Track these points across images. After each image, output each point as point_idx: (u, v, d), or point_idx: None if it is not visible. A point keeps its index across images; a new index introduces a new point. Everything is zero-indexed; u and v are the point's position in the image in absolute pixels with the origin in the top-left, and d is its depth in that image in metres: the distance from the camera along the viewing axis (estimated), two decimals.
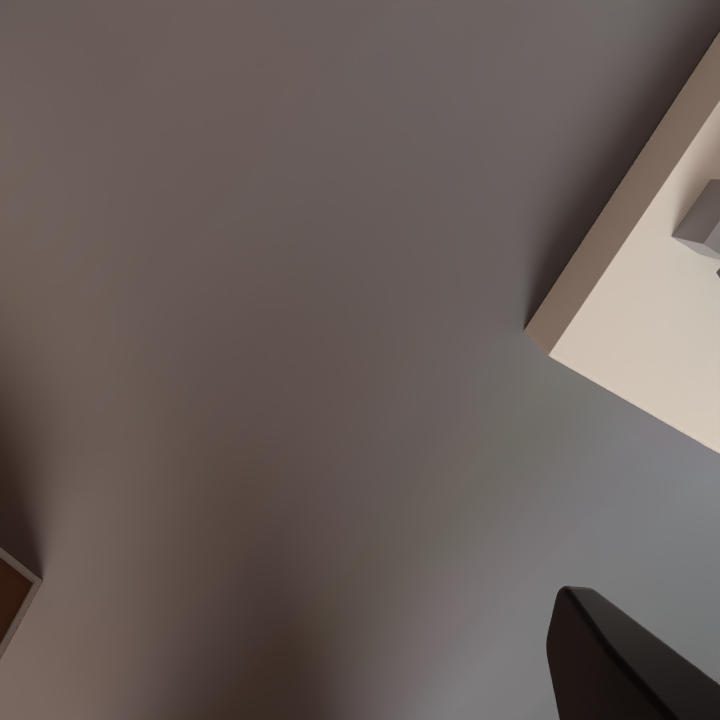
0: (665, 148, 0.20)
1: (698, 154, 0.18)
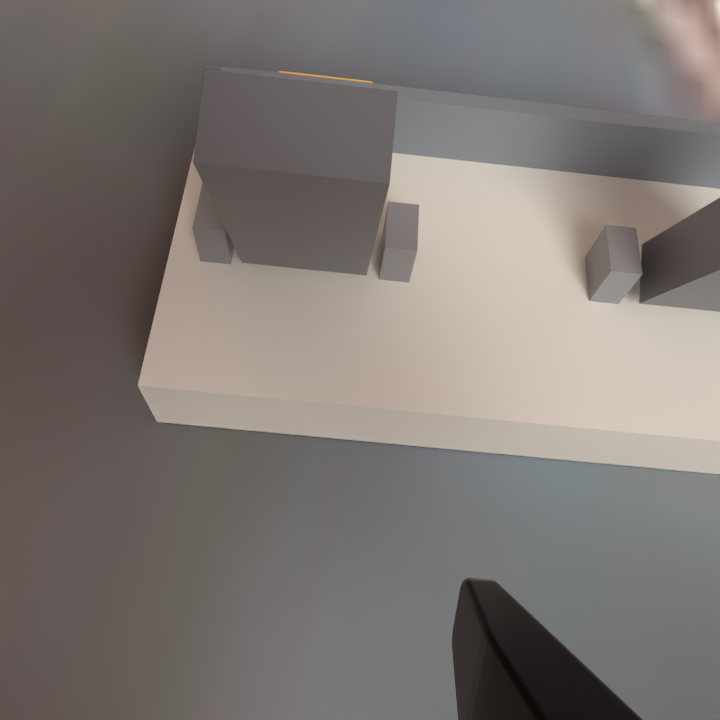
0: None
1: (190, 207, 0.23)
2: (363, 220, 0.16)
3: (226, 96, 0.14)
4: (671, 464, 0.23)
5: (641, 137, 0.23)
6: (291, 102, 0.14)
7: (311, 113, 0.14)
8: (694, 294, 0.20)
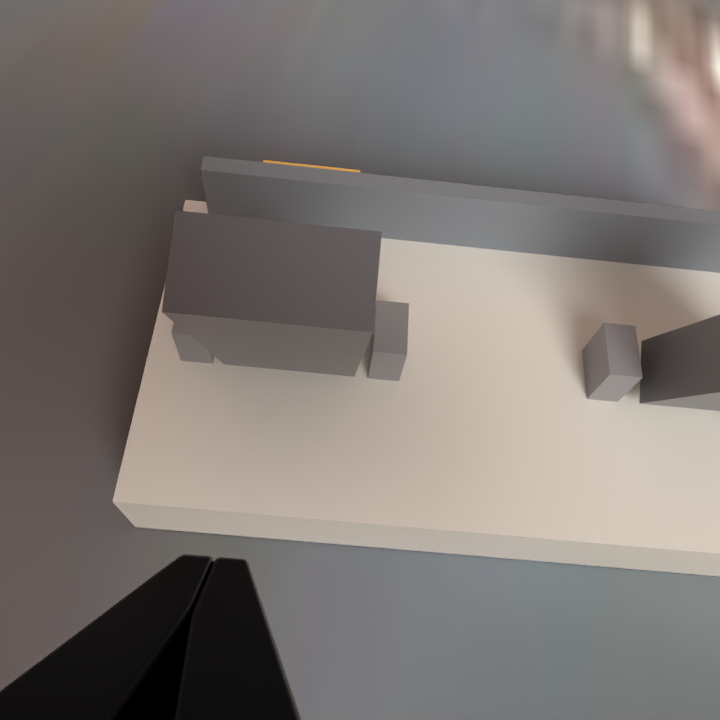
0: None
1: None
2: (347, 349, 0.15)
3: (198, 239, 0.13)
4: (674, 569, 0.22)
5: (639, 226, 0.22)
6: (267, 245, 0.13)
7: (289, 257, 0.13)
8: (697, 401, 0.19)
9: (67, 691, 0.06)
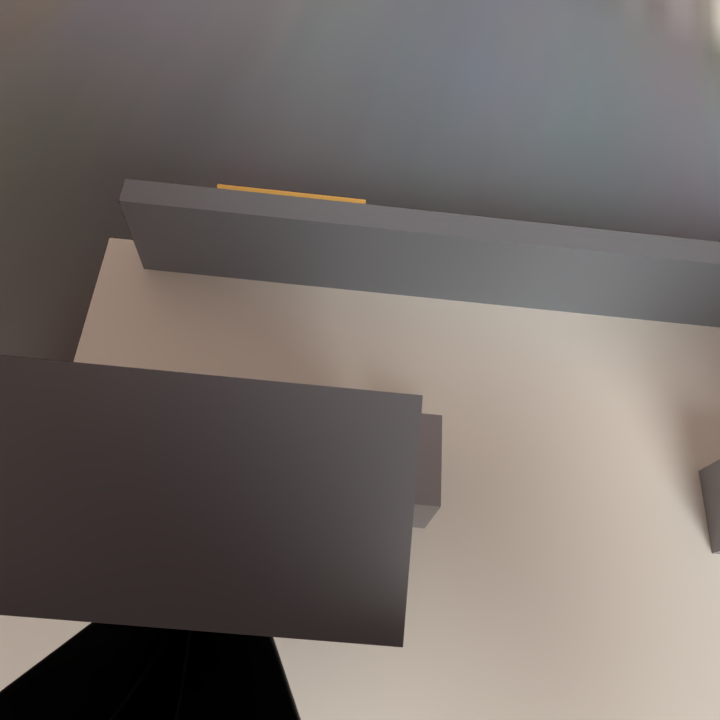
0: None
1: None
2: None
3: None
4: None
5: None
6: (152, 432, 0.05)
7: (203, 460, 0.05)
8: None
9: (67, 691, 0.06)
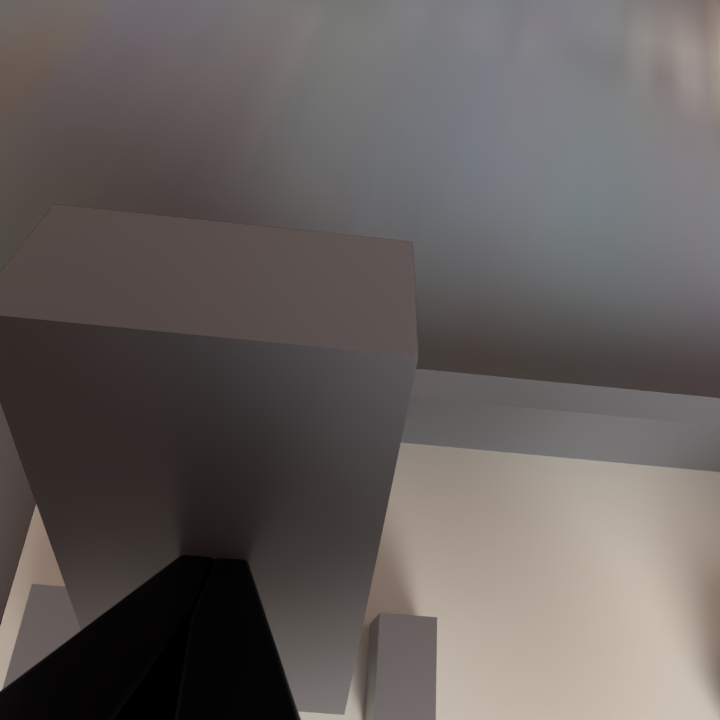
0: None
1: (33, 576, 0.13)
2: (349, 519, 0.08)
3: (84, 233, 0.07)
4: None
5: None
6: (211, 245, 0.07)
7: (249, 259, 0.07)
8: None
9: (67, 691, 0.06)
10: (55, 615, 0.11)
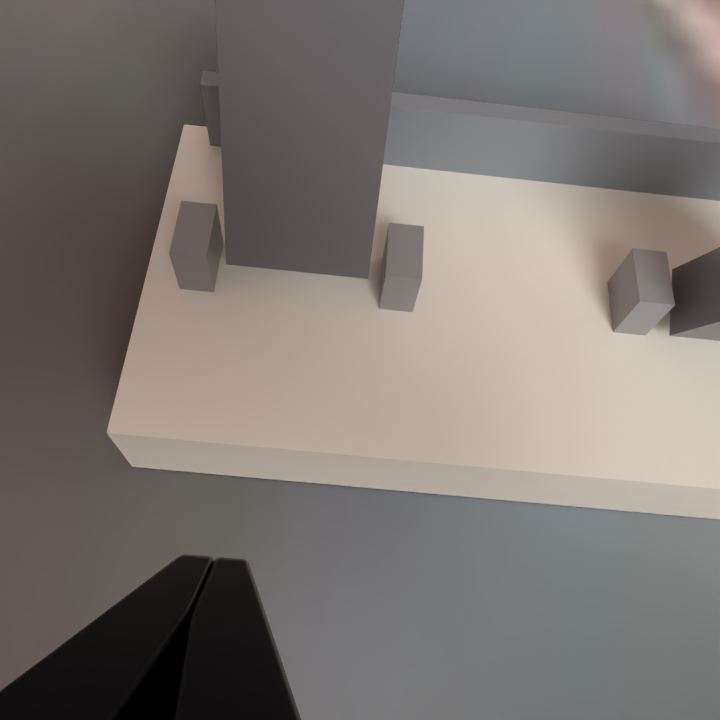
0: None
1: (169, 227, 0.21)
2: (376, 79, 0.15)
3: None
4: (703, 513, 0.21)
5: (670, 148, 0.21)
6: None
7: None
8: None
9: (67, 691, 0.06)
10: (196, 215, 0.19)
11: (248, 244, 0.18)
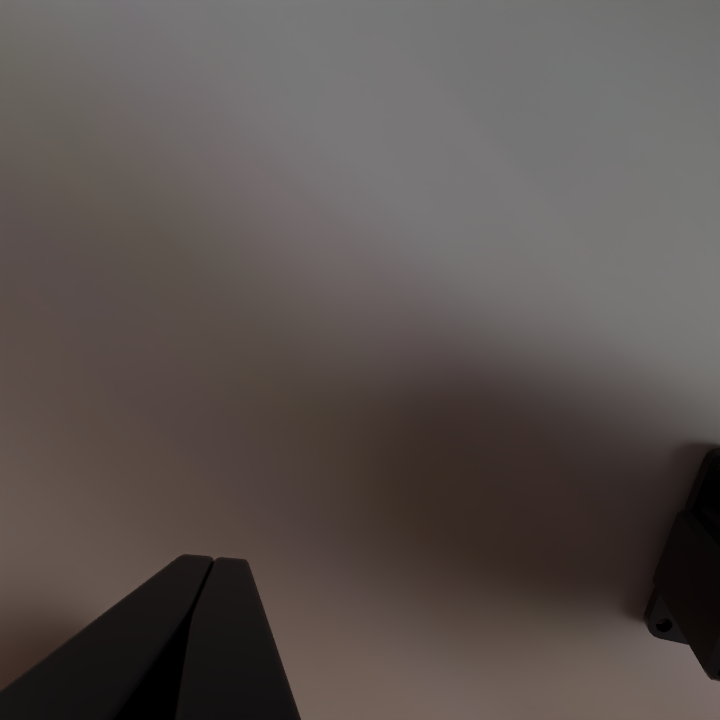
0: None
1: None
2: None
3: None
4: None
5: None
6: None
7: None
8: None
9: (67, 691, 0.06)
10: None
11: None
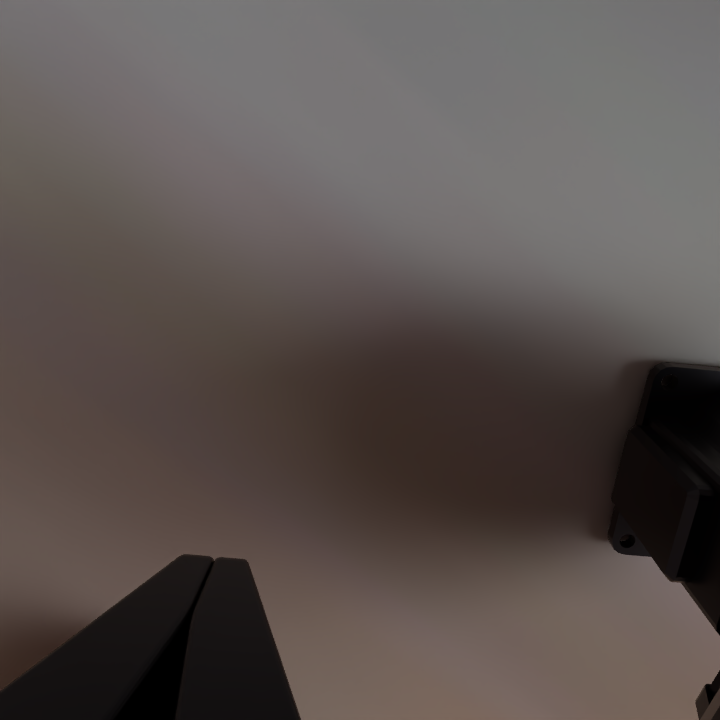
0: None
1: None
2: None
3: None
4: None
5: None
6: None
7: None
8: None
9: (67, 691, 0.06)
10: None
11: None
